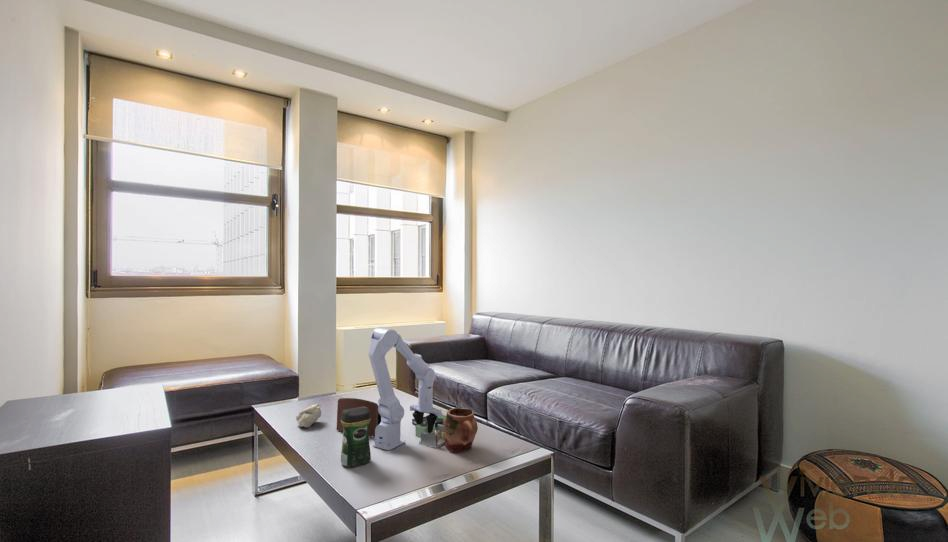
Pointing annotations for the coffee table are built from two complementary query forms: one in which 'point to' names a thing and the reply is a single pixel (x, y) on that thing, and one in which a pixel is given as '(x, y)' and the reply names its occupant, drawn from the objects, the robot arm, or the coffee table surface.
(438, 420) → the disk drive
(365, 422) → the coffee jar
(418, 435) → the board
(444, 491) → the coffee table surface
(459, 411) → the decorative planter
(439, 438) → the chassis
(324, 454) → the coffee table surface
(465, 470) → the coffee table surface
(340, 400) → the letter holder
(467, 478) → the coffee table surface
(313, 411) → the fossil replica
